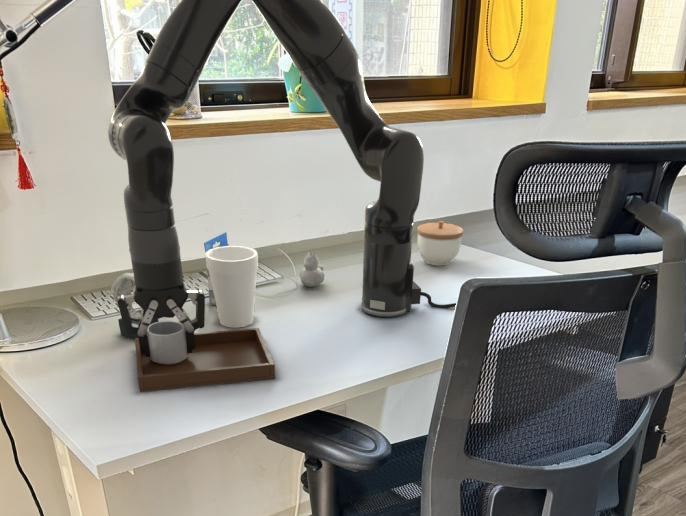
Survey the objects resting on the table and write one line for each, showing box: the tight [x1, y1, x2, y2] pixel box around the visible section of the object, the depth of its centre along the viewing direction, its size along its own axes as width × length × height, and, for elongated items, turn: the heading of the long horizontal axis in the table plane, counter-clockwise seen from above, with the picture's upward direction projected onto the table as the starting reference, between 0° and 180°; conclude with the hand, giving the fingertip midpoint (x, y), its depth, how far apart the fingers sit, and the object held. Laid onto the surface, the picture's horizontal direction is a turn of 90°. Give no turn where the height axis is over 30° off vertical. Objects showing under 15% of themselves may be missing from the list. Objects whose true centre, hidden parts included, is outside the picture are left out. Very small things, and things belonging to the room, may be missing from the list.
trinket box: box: [416, 220, 464, 266], centre depth 167 cm, size 11×11×9 cm
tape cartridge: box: [203, 231, 231, 306], centre depth 142 cm, size 9×4×12 cm, turn 160°
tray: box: [134, 327, 276, 393], centre depth 119 cm, size 22×16×3 cm
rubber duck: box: [299, 249, 325, 288], centre depth 152 cm, size 5×7×8 cm
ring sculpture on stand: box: [110, 272, 160, 341], centre depth 127 cm, size 6×8×11 cm
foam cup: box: [204, 245, 259, 329], centre depth 132 cm, size 10×9×13 cm
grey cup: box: [146, 320, 188, 365], centre depth 119 cm, size 6×6×6 cm
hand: (168, 352), depth 120 cm, fingers closed on grey cup, 6 cm apart
